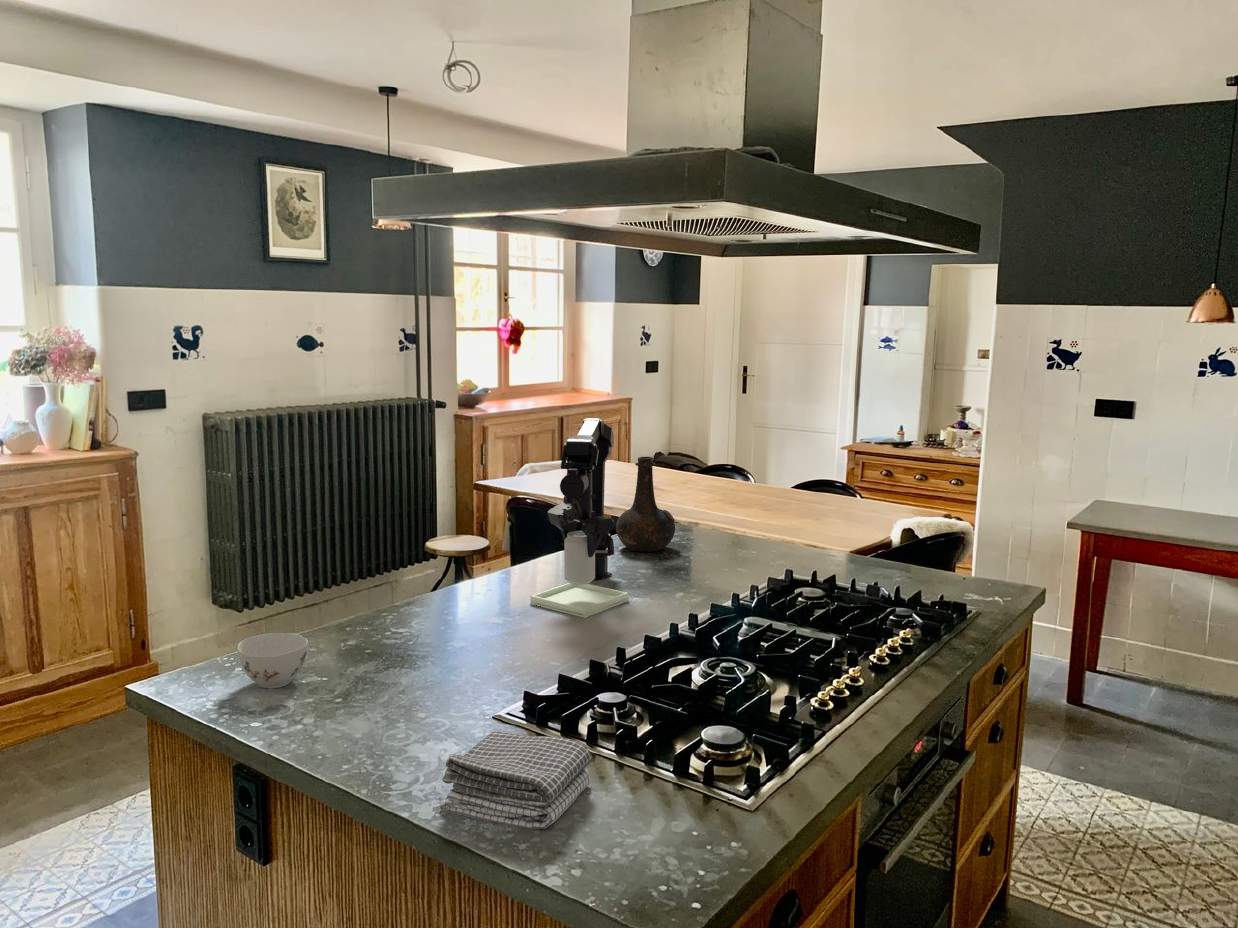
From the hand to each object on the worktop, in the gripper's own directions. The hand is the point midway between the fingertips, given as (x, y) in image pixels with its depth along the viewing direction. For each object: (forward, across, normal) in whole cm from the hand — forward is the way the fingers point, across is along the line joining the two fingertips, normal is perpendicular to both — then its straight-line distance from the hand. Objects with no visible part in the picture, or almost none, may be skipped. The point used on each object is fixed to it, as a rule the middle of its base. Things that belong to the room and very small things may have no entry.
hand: (579, 553), depth 226 cm
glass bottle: (+13, -28, +50) cm, 58 cm away
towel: (+12, +65, -68) cm, 95 cm away
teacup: (+12, 0, -75) cm, 76 cm away
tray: (+12, 0, 0) cm, 12 cm away
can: (+7, 0, 0) cm, 7 cm away
